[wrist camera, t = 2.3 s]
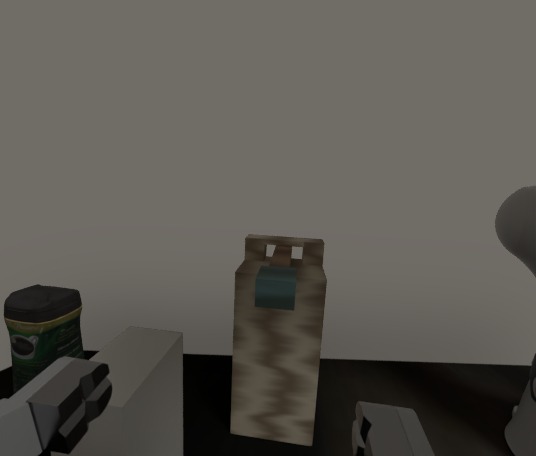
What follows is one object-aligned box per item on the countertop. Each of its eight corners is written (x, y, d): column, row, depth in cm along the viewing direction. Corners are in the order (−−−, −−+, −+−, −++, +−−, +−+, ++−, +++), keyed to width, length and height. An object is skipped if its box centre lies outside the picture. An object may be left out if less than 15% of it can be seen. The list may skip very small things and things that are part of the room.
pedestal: (183, 454, 34) (182, 332, 31) (129, 577, 23) (121, 407, 21) (134, 446, 35) (130, 326, 32) (61, 561, 24) (45, 395, 21)
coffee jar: (96, 379, 46) (90, 283, 43) (52, 417, 39) (41, 303, 36) (53, 369, 48) (44, 277, 45) (3, 404, 40) (-12, 294, 38)
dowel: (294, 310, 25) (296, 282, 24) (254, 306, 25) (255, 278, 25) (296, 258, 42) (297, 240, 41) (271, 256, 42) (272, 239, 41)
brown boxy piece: (309, 395, 45) (322, 239, 41) (311, 446, 36) (329, 253, 32) (243, 386, 46) (249, 234, 42) (230, 433, 37) (236, 246, 33)
